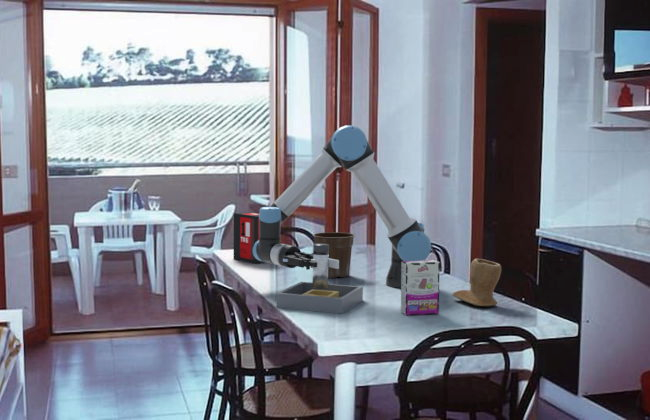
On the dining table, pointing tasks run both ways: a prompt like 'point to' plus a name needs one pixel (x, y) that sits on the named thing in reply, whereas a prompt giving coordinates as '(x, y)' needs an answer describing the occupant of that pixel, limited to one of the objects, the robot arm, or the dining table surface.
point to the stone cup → (481, 283)
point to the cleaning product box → (246, 236)
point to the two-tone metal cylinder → (318, 275)
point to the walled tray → (319, 297)
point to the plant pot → (337, 250)
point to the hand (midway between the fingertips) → (331, 265)
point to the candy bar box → (420, 287)
